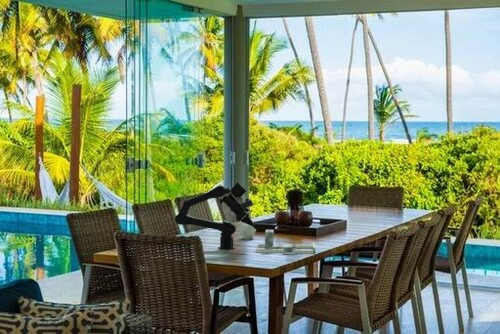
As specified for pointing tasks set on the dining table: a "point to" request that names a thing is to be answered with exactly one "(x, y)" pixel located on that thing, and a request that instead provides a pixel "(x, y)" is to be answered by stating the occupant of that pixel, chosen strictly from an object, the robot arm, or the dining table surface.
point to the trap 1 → (288, 253)
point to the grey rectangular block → (270, 244)
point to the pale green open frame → (283, 249)
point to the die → (247, 231)
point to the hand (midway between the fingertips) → (253, 226)
